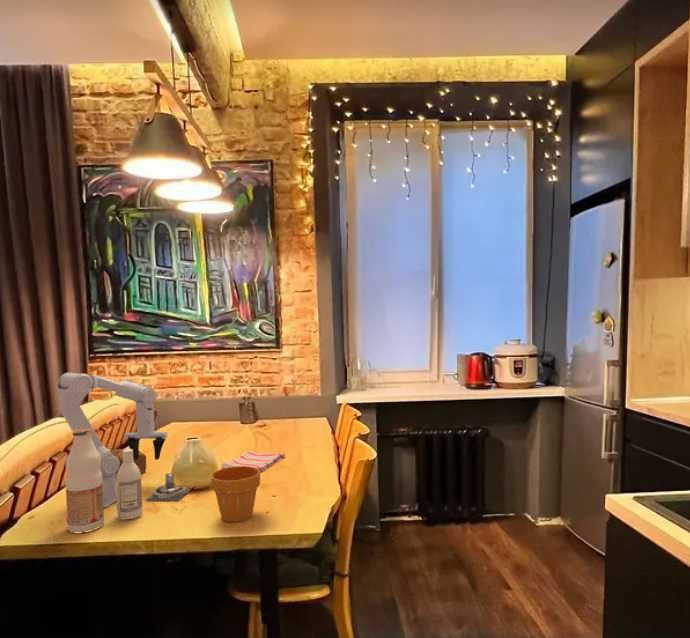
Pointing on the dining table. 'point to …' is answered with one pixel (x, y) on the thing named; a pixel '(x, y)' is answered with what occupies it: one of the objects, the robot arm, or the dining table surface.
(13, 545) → the dining table surface
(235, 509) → the flower pot
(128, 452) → the bath foam
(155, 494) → the carrier plate
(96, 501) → the fruit juice
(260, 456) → the dish towel
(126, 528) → the dining table surface
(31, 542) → the dining table surface
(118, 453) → the bread
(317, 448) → the dining table surface
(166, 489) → the planet gear
